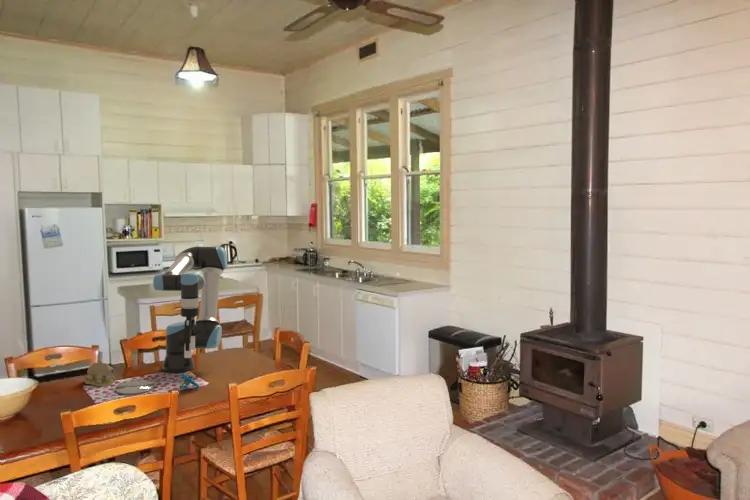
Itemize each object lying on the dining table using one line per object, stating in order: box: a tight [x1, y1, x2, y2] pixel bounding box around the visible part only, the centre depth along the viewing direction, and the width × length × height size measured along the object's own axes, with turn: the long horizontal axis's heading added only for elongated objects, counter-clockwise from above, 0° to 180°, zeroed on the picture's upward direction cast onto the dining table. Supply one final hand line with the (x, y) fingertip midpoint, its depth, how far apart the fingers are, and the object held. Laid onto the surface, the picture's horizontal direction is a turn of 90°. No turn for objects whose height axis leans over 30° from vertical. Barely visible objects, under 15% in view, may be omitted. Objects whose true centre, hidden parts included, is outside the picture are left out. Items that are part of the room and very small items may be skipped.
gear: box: [180, 372, 200, 391], centre depth 252 cm, size 11×6×10 cm
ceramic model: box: [83, 360, 117, 387], centre depth 258 cm, size 14×11×10 cm
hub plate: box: [115, 380, 155, 396], centre depth 251 cm, size 16×16×1 cm
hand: (189, 353), depth 252 cm, fingers open, 13 cm apart
